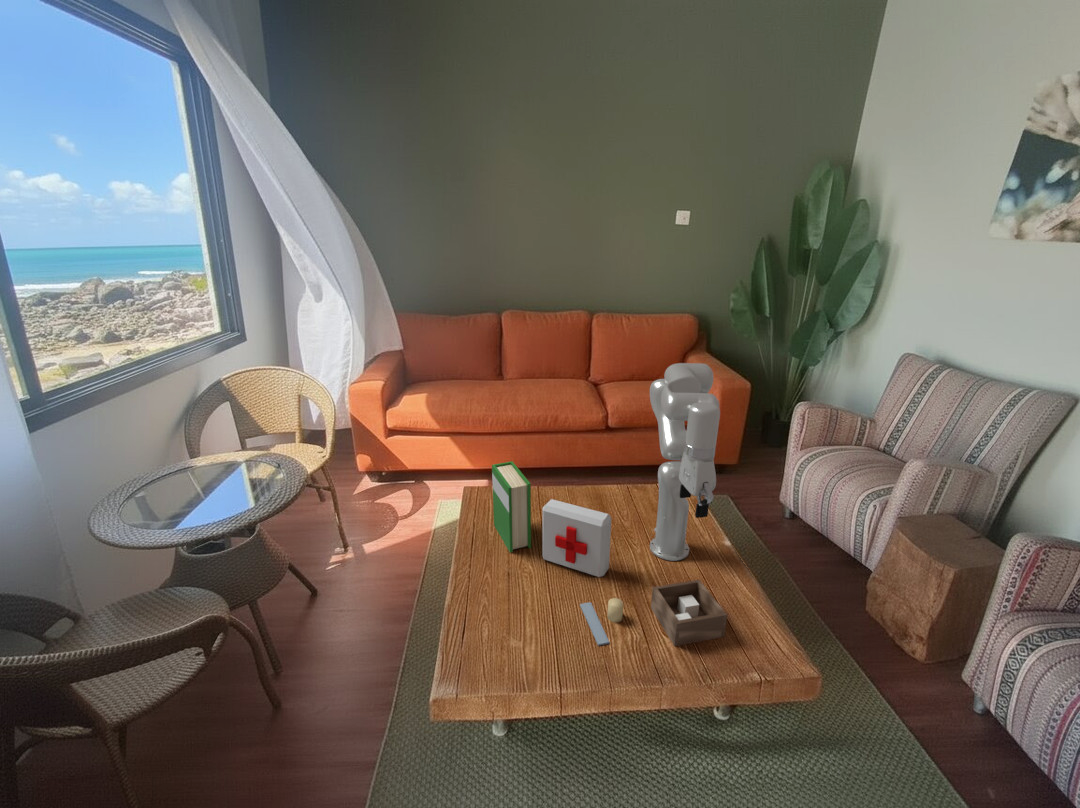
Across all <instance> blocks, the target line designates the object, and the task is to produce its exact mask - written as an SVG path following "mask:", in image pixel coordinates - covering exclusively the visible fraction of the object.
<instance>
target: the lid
mask: <svg viewBox="0 0 1080 808" xmlns="http://www.w3.org/2000/svg"><path fill="white" fill-rule="evenodd" d="M579 607H580V609H581V611H582V613H583V616H584V617H585V620H586V622H587V624H588V627H589V629H590V631H591V633H592V635H593V637H594V640H595V642H596V644H597V646H598V647H599V646H600V647H601V646H604V645H609V644H611V642H610V640H609V638H608V636H607V633H606V631H605V630H604V627H603V626H602V622H601V621H600V619H599V617H598V614H597V613H596V610H595V608H594V606H593V604H592V602H591V601H588V602H583V603H580V604H579ZM623 613H624V601H623V600H622V599H620V598H618V597H612V598H610V599H609V600H608V601H607V619H608V620H609V621H610V622H612V623H620V622H621V621H622V620H623V617H624V615H623Z"/></svg>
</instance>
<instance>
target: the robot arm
mask: <svg viewBox="0 0 1080 808" xmlns="http://www.w3.org/2000/svg"><path fill="white" fill-rule="evenodd" d="M663 375H664V378H659V379H655V380H654V381H652V382H651V384H650V387H649V401H650V405H651V409H652V411H653V413H654V416H655V418H656V420H657V425H658V426H657V427H658V428H657V429H658V440H659V448H660V453H661V456H662V458H664V459H666V460H668V461H665V462H663V463H661V465H659V467H658V471H657V482H658V502H657V503H658V504H657V513H656V514H657V516H656V526H655V527H654V529H653V531H654V532H655V537H654V538H652V540H650V543H649V550H650V551H651V553H652V554H654V556H656V557H657V558H660V559H662V560H666V561H672V562H673V561H675V562H678V561H681V560H684V559H686V558H687V557H688V556H689V553H690V547H689V545H688V544H687V543H686V536H687V530H688V521H689V520H688V519H689V510H690V506H689V505H690V504H689V500H688V498H691V497H692V496H693V497H696V501H697V503H696V506H695V513H694V514H695V515H694V517H695V518H696V519H699V518H700V519H701V518H707V517H708V514H709V507H710V506H711V504H712V502H713V500H714V497H715V496H714V494H713V491H714V490H715V488H716V485H717V475H716V468H715V455H716V448H717V447H716V446H717V441H718V440H717V439H718V432H719V426H720V425H719V423H720V419H721V409H720V401H719V399H718V397H716V395H715V394H713V393H709V392H710V391H711V389H712V387H713V383H714V372H713V370H712V368H711V366H709V365H708V364H707V363H703V362H702V363H699V362H698V363H695V362H692V363H689V362H678V363H673V364H671V365H669V366H668V367H667V368H666V369H665V371H664V374H663ZM686 421H687V424H685V422H686ZM685 425H687V426H685ZM669 460H671V461H669ZM702 496H704V499H702Z"/></svg>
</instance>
